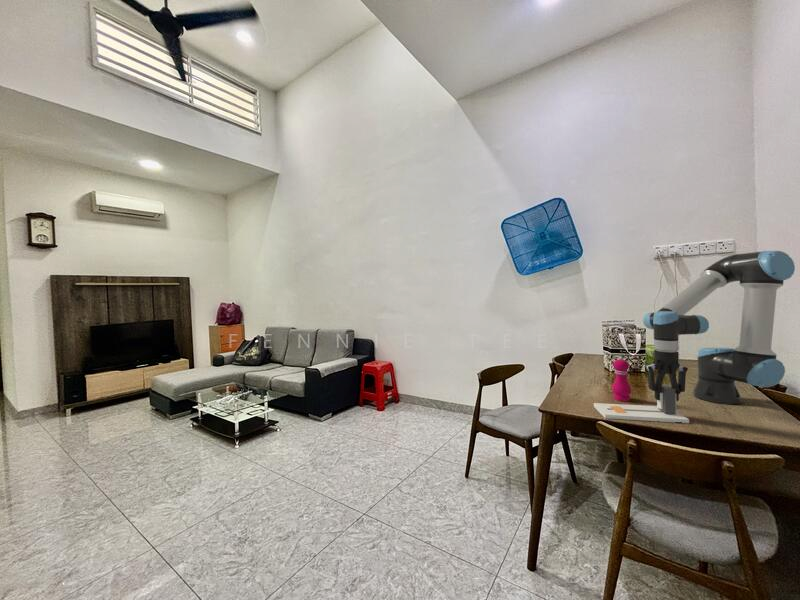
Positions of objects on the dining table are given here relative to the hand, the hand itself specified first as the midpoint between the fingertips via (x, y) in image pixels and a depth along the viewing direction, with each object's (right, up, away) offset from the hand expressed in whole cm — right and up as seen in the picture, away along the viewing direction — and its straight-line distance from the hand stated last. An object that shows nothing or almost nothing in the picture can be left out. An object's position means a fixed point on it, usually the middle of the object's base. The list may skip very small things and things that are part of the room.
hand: (666, 408), depth 125 cm
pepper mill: (-4, -3, +20) cm, 20 cm away
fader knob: (0, -1, 0) cm, 1 cm away
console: (-10, -3, +3) cm, 10 cm away
